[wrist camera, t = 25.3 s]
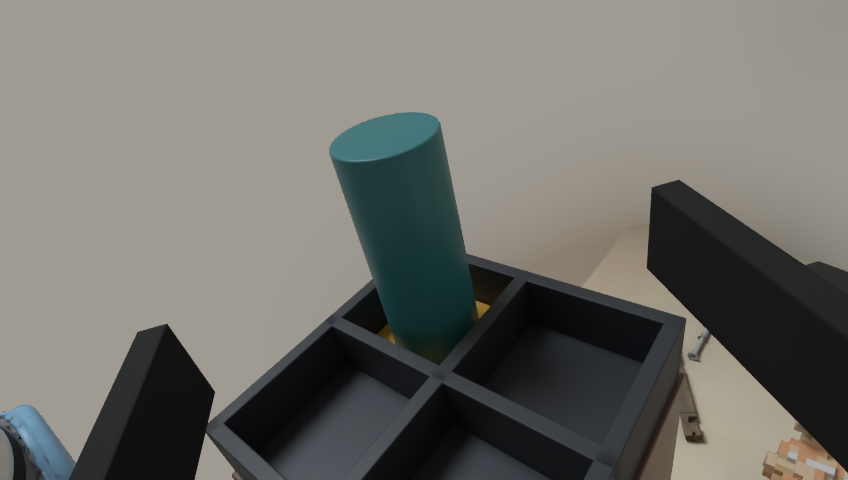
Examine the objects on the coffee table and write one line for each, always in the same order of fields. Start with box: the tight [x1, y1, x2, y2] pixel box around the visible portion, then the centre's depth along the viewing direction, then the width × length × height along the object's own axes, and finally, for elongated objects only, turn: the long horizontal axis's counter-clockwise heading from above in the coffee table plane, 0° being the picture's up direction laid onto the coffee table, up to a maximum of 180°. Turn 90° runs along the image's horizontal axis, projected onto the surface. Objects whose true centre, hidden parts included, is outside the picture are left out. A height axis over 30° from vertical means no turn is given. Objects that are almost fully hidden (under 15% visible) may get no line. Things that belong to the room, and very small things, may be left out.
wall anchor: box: [688, 328, 709, 360], centre depth 53 cm, size 1×9×1 cm
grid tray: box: [206, 254, 686, 480], centre depth 18 cm, size 13×13×3 cm
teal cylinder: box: [329, 112, 479, 365], centre depth 20 cm, size 4×4×10 cm
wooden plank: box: [679, 362, 702, 441], centre depth 48 cm, size 13×1×1 cm, turn 167°
